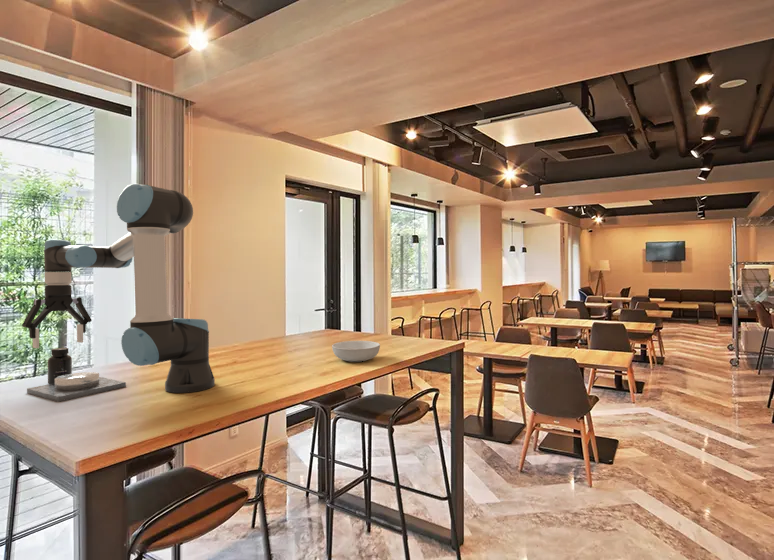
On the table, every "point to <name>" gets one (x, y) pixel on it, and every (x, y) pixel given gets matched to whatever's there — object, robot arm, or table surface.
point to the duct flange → (75, 386)
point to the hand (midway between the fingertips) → (58, 345)
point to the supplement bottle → (59, 364)
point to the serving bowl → (356, 350)
